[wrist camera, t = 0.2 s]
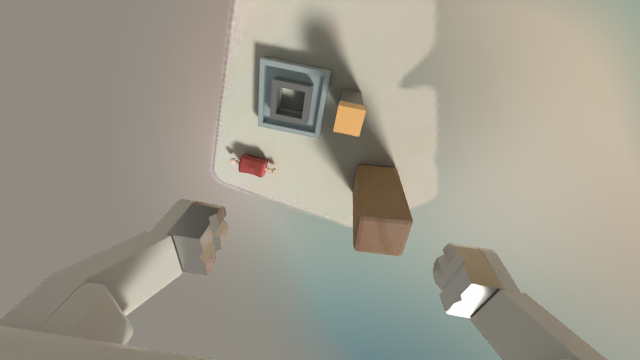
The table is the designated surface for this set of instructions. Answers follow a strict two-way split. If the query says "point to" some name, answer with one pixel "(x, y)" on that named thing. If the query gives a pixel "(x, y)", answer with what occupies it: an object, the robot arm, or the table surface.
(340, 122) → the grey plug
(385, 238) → the wooden block
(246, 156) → the meat
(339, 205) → the table surface
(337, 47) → the table surface
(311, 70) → the box
